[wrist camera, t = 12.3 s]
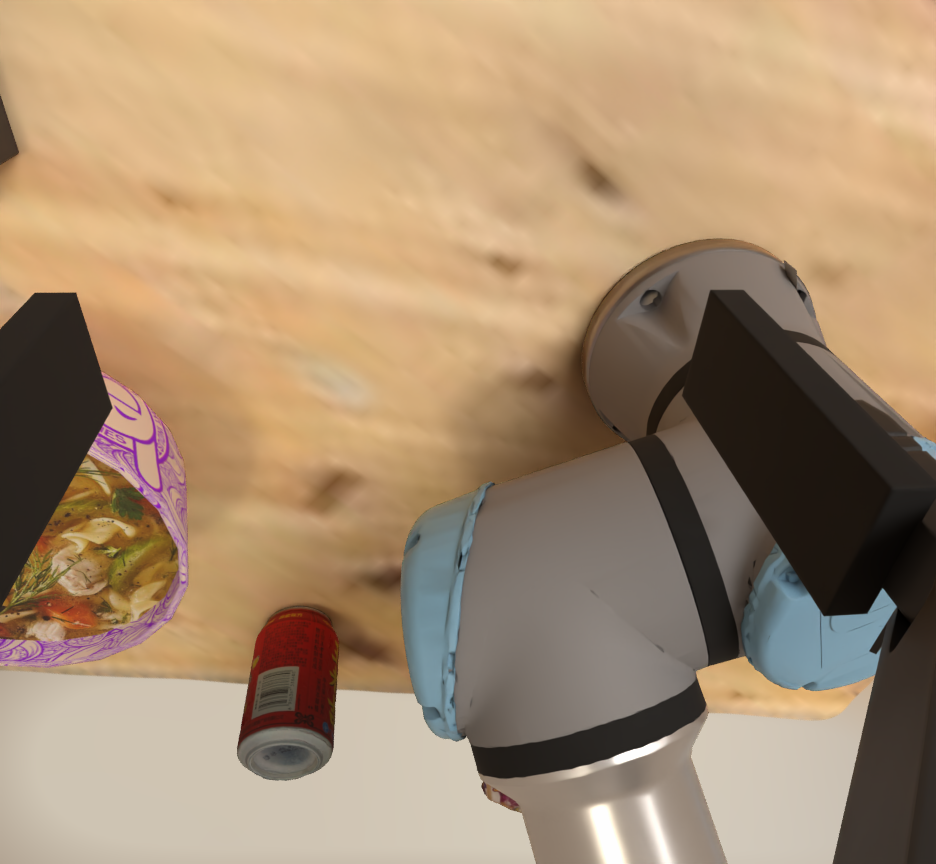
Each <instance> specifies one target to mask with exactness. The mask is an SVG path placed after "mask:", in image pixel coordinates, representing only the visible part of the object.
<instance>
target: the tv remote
mask: <svg viewBox="0 0 936 864" xmlns="http://www.w3.org/2000/svg"><path fill="white" fill-rule="evenodd" d="M18 153H19V151H18V148H17V145H16V142H15V139H14V136H13V133H12V130H11V127H10V124H9V121H8V118H7V115H6V111H5V108H4V105H3V102H2V99H1V96H0V165H1V164H2V163H4V162H6V161H7V160H9V159H10V158H12V157H13V156H15V155H17V154H18Z"/></svg>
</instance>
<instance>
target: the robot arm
mask: <svg viewBox="0 0 936 864" xmlns="http://www.w3.org/2000/svg"><path fill="white" fill-rule="evenodd" d="M582 375H583V380H584V384H585V387H586V389H587V392H588V394H589V397H590V399H591V401H592V403H593V406H594V408H595V410H596V411H597V413H598V415H599V416H600V418H601V419H602V421H603V422H604V423H605V424H606V425H607V426H608V427H609V428H610V429H611V430H612V431H613V432H614V433H616V434H617V435H619V436H620V437H621V438H623V439H624V440H626V441H628V442H625V443H621V444H618V445H615V446H612V447H609V448H606V449H603V450H600V451H597V452H594V453H591V454H588V455H585V456H582V457H579V458H576V459H573V460H570V461H567V462H564V463H561V464H558V465H555V466H552V467H549V468H546V469H543V470H540V471H536V472H533V473H530V474H527V475H524V476H521V477H518V478H515V479H512V480H509V481H506V482H502V483H499V484H496V485H495V484H494V483H492V482H488V483H485V484H482V485H481V486H480V487H479V488H478V490H476V491H473V492H470V493H468V494H465V495H463V496H460V497H457V498H455V499H452V500H450V501H447V502H444V503H442V504H439V505H436V506H434V507H432V508H430V509H429V510H427V511H426V512H424V513H423V514H422V515H421V516H420V517H419V518H418V519H417V521H416V522H415V524H414V525H413V527H412V529H411V531H410V533H409V535H408V538H407V541H406V545H405V550H404V557H403V561H402V570H401V615H402V628H403V636H404V644H405V651H406V657H407V662H408V668H409V673H410V678H411V682H412V686H413V690H414V693H415V696H416V699H417V701H418V703H419V704H420V705H422V709H423V715H424V719H425V721H426V723H427V725H428V727H429V728H430V729H431V731H432V732H433V733H434V734H435V735H437V736H439V737H440V738H444V739H452V740H453V741H459V740H462V739H465V738H466V736H467V738H468V739H469V742H470V744H471V747H472V751H473V755H474V758H475V762H476V766H477V771H478V773H479V776H480V778H481V780H482V781H484V782H485V783H487V784H489V785H490V786H492V787H493V788H495V789H497V790H498V791H500V792H502V793H503V794H505V795H507V796H508V797H510V798H511V799H513V800H515V801H516V802H517V803H518V805H519V806H520V808H521V811H522V815H523V819H524V822H525V826H526V829H527V833H528V836H529V840H530V843H531V847H532V850H533V854H534V858H535V861H536V864H728V863H727V860H726V858H725V855H724V852H723V849H722V846H721V844H720V840H719V838H718V835H717V831H716V829H715V826H714V823H713V820H712V817H711V814H710V811H709V808H708V805H707V802H706V799H705V796H704V794H703V791H702V788H701V785H700V782H699V779H698V776H697V774H696V770H695V767H694V765H693V762H692V759H691V753H692V747H693V745H694V743H695V740H696V739H697V737H698V735H699V733H700V731H701V729H702V727H703V725H704V723H705V721H706V719H707V716H708V713H709V712H708V708H707V704H706V702H705V699H704V697H703V694H702V691H701V688H700V685H699V682H698V680H697V677H696V671H697V670H700V669H702V668H705V667H707V666H710V665H714V664H718V663H721V662H725V661H728V660H732V659H736V658H739V657H743V656H746V657H747V659H748V661H749V663H750V664H752V665H753V666H754V668H755V670H757V671H759V672H760V673H762V674H763V675H764V676H765V677H766V678H767V679H768V680H770V681H771V682H773V683H774V684H777V685H779V686H781V687H783V688H787V689H793V690H797V689H798V688H800V687H803V688H804V689H806V690H810V691H821V690H828V689H833V688H838V687H842V686H846V685H850V684H853V683H856V682H859V681H861V680H864V679H866V678H869V677H871V676H874V675H875V678H874V683H873V687H872V692H871V696H870V701H869V705H868V710H867V714H866V718H865V723H864V727H863V731H862V736H861V740H860V745H859V749H858V754H857V758H856V762H855V767H854V772H853V776H852V780H851V785H850V789H849V794H848V798H847V802H846V807H845V811H844V816H843V820H842V824H841V829H840V833H839V838H838V842H837V847H836V851H835V855H834V860H833V864H936V444H935V443H934V442H932V441H930V440H928V439H926V437H925V438H924V437H923V436H922V435H921V434H920V433H919V432H918V431H917V430H915V429H914V428H913V427H912V426H911V425H910V424H909V423H908V422H907V421H906V420H905V419H904V418H902V417H901V416H900V415H899V414H898V413H897V412H896V411H895V410H894V409H893V408H892V407H891V406H889V405H888V404H887V403H886V402H885V401H884V400H883V399H882V398H881V397H880V396H879V395H878V394H876V393H875V392H874V391H873V390H872V389H871V388H870V387H869V386H868V385H867V384H866V383H865V382H863V381H862V380H861V379H860V378H859V377H858V376H857V375H856V374H855V373H854V372H853V371H852V370H850V369H849V368H848V367H847V366H846V365H845V364H844V363H843V362H842V361H841V360H840V359H839V358H837V357H836V356H835V355H834V354H833V353H832V352H831V351H830V350H829V349H828V348H827V347H826V344H825V341H824V338H823V335H822V331H821V328H820V326H819V323H818V321H817V320H816V315H815V311H814V307H813V304H812V300H811V297H810V295H809V292H808V290H807V289H806V287H805V285H804V283H803V282H802V281H801V279H800V278H799V277H798V276H797V270H795V269H794V268H793V267H792V266H791V265H789V264H788V263H787V262H786V261H784V263H783V262H782V261H780V260H779V259H778V258H777V257H775V256H774V255H773V254H771V253H770V252H768V251H766V250H765V249H763V248H761V247H759V246H756V245H754V244H751V243H747V242H744V241H739V240H733V239H706V240H698V241H693V242H689V243H685V244H682V245H679V246H676V247H673V248H670V249H668V250H666V251H663V252H661V253H659V254H657V255H655V256H653V257H651V258H650V259H648V260H646V261H645V262H643V263H642V264H640V265H639V266H637V267H636V268H635V269H633V270H632V271H631V272H629V273H628V274H627V275H626V276H625V277H624V278H623V279H622V280H620V281H619V282H618V283H617V285H616V286H615V287H614V288H613V289H612V290H611V291H610V292H609V294H608V295H607V296H606V297H605V298H604V300H603V301H602V303H601V304H600V306H599V307H598V309H597V311H596V312H595V314H594V316H593V318H592V320H591V322H590V325H589V327H588V330H587V333H586V336H585V339H584V344H583V349H582ZM112 409H113V407H112V404H111V401H110V398H109V395H108V391H107V388H106V385H105V382H104V379H103V376H102V373H101V370H100V366H99V363H98V360H97V357H96V354H95V351H94V348H93V344H92V341H91V338H90V335H89V332H88V329H87V326H86V322H85V319H84V316H83V313H82V310H81V307H80V304H79V300H78V297H77V294H76V293H34V294H33V295H32V296H31V298H30V299H29V300H28V301H27V302H26V303H25V304H24V305H23V306H22V307H21V308H20V309H19V310H18V311H17V312H16V313H15V314H14V315H13V316H12V318H11V319H10V320H9V321H8V322H7V323H6V324H5V325H4V326H3V327H2V328H1V329H0V608H1V607H2V605H3V603H4V601H5V600H6V598H7V596H8V594H9V592H10V591H11V589H12V587H13V585H14V583H15V582H16V580H17V578H18V576H19V575H20V573H21V571H22V569H23V567H24V566H25V564H26V562H27V560H28V558H29V557H30V555H31V553H32V551H33V550H34V548H35V546H36V544H37V542H38V541H39V539H40V537H41V535H42V533H43V532H44V530H45V528H46V526H47V525H48V523H49V521H50V519H51V517H52V516H53V514H54V512H55V510H56V508H57V507H58V505H59V503H60V501H61V500H62V498H63V496H64V494H65V492H66V491H67V489H68V487H69V485H70V484H71V482H72V480H73V478H74V476H75V475H76V473H77V471H78V469H79V467H80V466H81V464H82V462H83V460H84V459H85V457H86V455H87V453H88V451H89V450H90V448H91V446H92V444H93V442H94V441H95V439H96V437H97V435H98V434H99V432H100V430H101V428H102V426H103V425H104V423H105V421H106V419H107V417H108V416H109V414H110V412H111V410H112Z"/></svg>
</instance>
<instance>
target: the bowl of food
mask: <svg viewBox="0 0 936 864" xmlns="http://www.w3.org/2000/svg"><path fill="white" fill-rule="evenodd" d="M101 373H102V376H103V379H104V382H105V385H106V388H107V391H108V395H109V398H110V401H111V404H112V407H113V409H112V410H111V412H110V414H109V416H108V417H107V419H106V421H105V423H104V425H103V426H102V428H101V430H100V432H99V434H98V435H97V437H96V439H95V441H94V442H93V444H92V446H91V448H90V450H89V451H88V453H87V455H86V457H85V459H84V460H83V462H82V464H81V466H80V467H79V469H78V471H77V473H76V475H75V476H74V478H73V480H72V482H71V484H70V485H69V487H68V489H67V491H66V492H65V494H64V496H63V498H62V500H61V501H60V503H59V505H58V507H57V508H56V510H55V512H54V514H53V516H52V517H51V519H50V521H49V523H48V525H47V526H46V528H45V530H44V532H43V533H42V535H41V537H40V539H39V541H38V542H37V544H36V546H35V548H34V550H33V551H32V553H31V555H30V557H29V558H28V560H27V562H26V564H25V566H24V567H23V569H22V571H21V573H20V575H19V576H18V578H17V580H16V582H15V583H14V585H13V587H12V589H11V591H10V592H9V594H8V596H7V598H6V600H5V601H4V603H3V605H2V607H1V608H0V666H21V667H56V666H63V665H69V664H76V663H83V662H89V661H96V660H101V659H103V658H106V657H108V656H111V655H113V654H116V653H118V652H121V651H123V650H126V649H128V648H131V647H133V646H136V645H138V644H141V643H142V642H144V641H145V640H146V639H147V638H149V637H150V636H151V635H152V634H153V633H155V632H156V631H157V630H158V629H159V628H161V627H162V626H163V625H164V624H165V623H167V622H168V621H169V620H170V619H172V617H173V615H174V613H175V611H176V609H177V607H178V605H179V603H180V601H181V599H182V597H183V595H184V593H185V591H186V589H187V587H188V526H187V494H186V475H185V468H184V460H183V458H182V456H181V454H180V452H179V449H178V447H177V445H176V443H175V441H174V438H173V436H172V434H171V432H170V430H169V428H168V427H167V426H166V425H165V424H164V423H163V422H162V421H161V419H160V418H159V417H158V416H157V415H156V414H155V413H154V412H153V411H152V410H151V409H150V407H149V406H148V405H147V404H146V403H145V402H144V401H143V400H142V399H141V398H140V397H139V395H138V394H136V393H135V392H133V391H132V390H130V389H129V388H127V387H126V386H124V385H122V384H121V383H119V382H118V381H116V380H115V379H113V378H112V377H110V376H109V375H107V374H105V373H104V372H101Z"/></svg>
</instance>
